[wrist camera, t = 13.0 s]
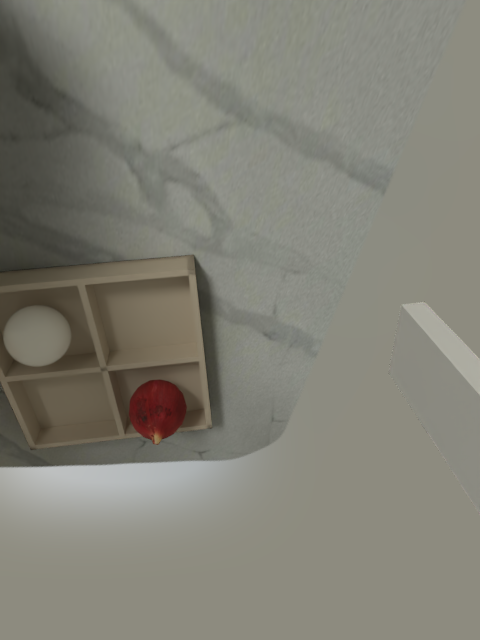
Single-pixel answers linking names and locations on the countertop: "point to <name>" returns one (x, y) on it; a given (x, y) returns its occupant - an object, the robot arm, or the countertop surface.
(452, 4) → the countertop surface
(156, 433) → the onion
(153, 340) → the wooden tray
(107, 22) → the countertop surface
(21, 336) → the ceramic egg
